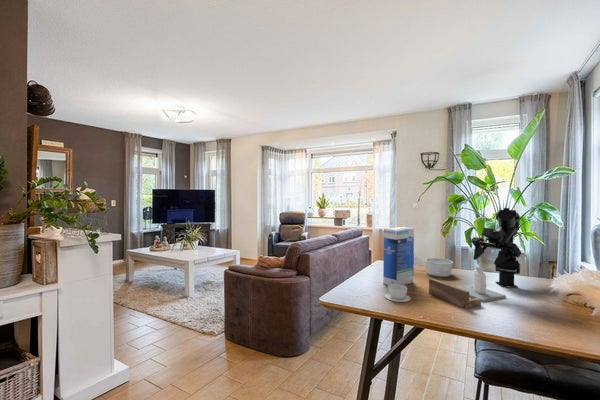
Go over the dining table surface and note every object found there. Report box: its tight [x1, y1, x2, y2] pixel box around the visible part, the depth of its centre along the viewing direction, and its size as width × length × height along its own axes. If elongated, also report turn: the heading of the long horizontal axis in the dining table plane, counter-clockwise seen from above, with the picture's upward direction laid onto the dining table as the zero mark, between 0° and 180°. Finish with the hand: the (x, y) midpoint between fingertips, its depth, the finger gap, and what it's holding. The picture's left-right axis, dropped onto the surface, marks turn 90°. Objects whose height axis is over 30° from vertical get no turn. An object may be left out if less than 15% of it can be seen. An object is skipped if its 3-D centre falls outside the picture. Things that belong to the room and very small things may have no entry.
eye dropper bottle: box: [472, 263, 487, 294], centre depth 123 cm, size 4×6×12 cm
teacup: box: [384, 284, 412, 303], centre depth 119 cm, size 10×10×5 cm
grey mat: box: [459, 286, 507, 303], centre depth 123 cm, size 13×13×1 cm
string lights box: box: [382, 226, 415, 286], centre depth 138 cm, size 13×8×26 cm, turn 123°
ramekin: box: [424, 257, 454, 278], centre depth 154 cm, size 13×13×7 cm
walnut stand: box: [428, 278, 482, 309], centre depth 118 cm, size 8×18×6 cm, turn 20°
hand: (484, 261), depth 123 cm, fingers open, 9 cm apart
